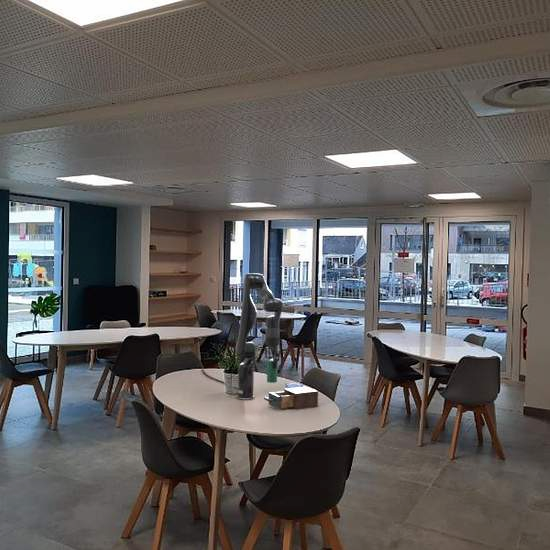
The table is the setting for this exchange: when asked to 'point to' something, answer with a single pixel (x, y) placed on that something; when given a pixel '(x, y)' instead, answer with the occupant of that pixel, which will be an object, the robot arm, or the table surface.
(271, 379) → the can
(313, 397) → the cabinet
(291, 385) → the hippopotamus toy
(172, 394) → the table surface
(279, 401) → the drawer
